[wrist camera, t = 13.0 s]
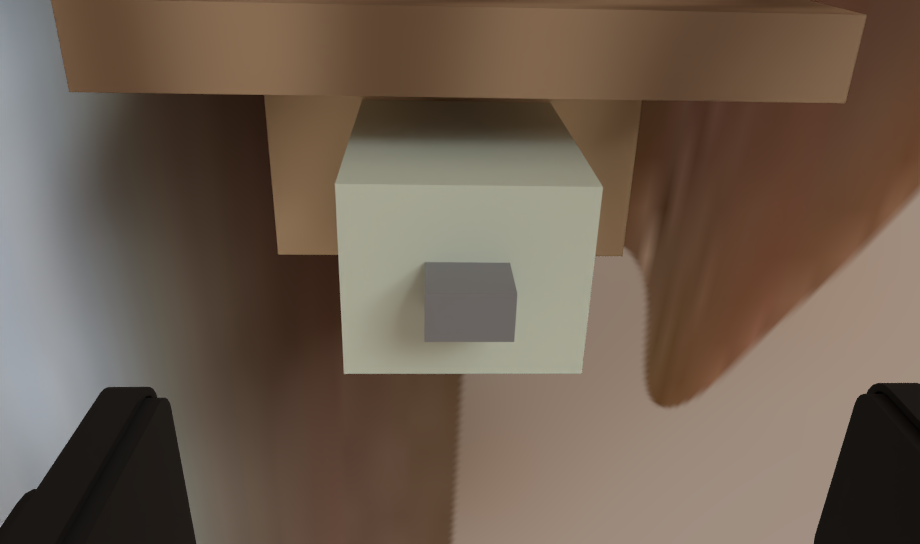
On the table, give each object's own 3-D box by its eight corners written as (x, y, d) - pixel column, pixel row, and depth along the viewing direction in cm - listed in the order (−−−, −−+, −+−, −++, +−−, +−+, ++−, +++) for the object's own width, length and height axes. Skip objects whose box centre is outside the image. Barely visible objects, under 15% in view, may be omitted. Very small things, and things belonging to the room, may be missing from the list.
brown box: (731, -190, 25) (931, -251, 15) (669, 210, 31) (783, 354, 21) (171, -209, 24) (-7, -285, 14) (221, 206, 30) (121, 355, 20)
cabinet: (550, 102, 24) (619, 212, 16) (538, 251, 27) (593, 418, 18) (362, 99, 24) (326, 209, 15) (366, 250, 26) (337, 419, 18)
